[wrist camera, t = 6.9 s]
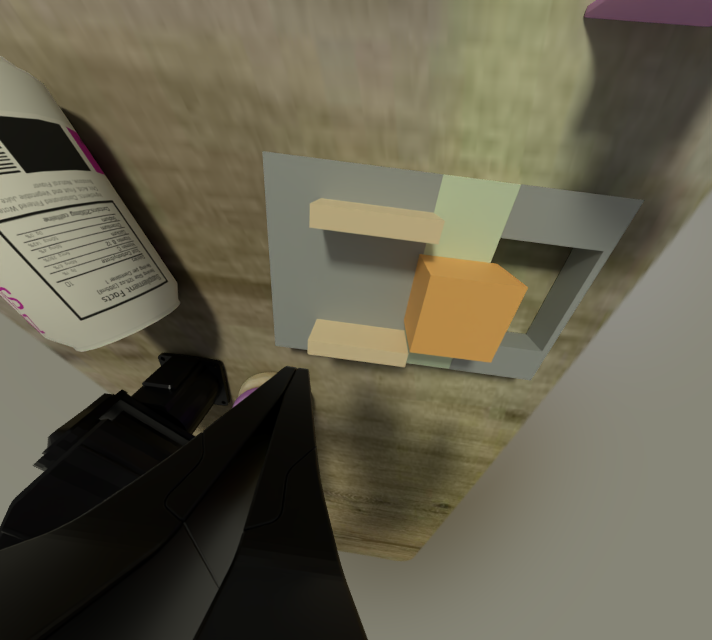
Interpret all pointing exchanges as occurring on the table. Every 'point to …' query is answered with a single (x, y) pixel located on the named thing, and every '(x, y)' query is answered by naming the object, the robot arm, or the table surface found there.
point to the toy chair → (654, 11)
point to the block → (460, 307)
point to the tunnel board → (415, 253)
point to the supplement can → (69, 230)
